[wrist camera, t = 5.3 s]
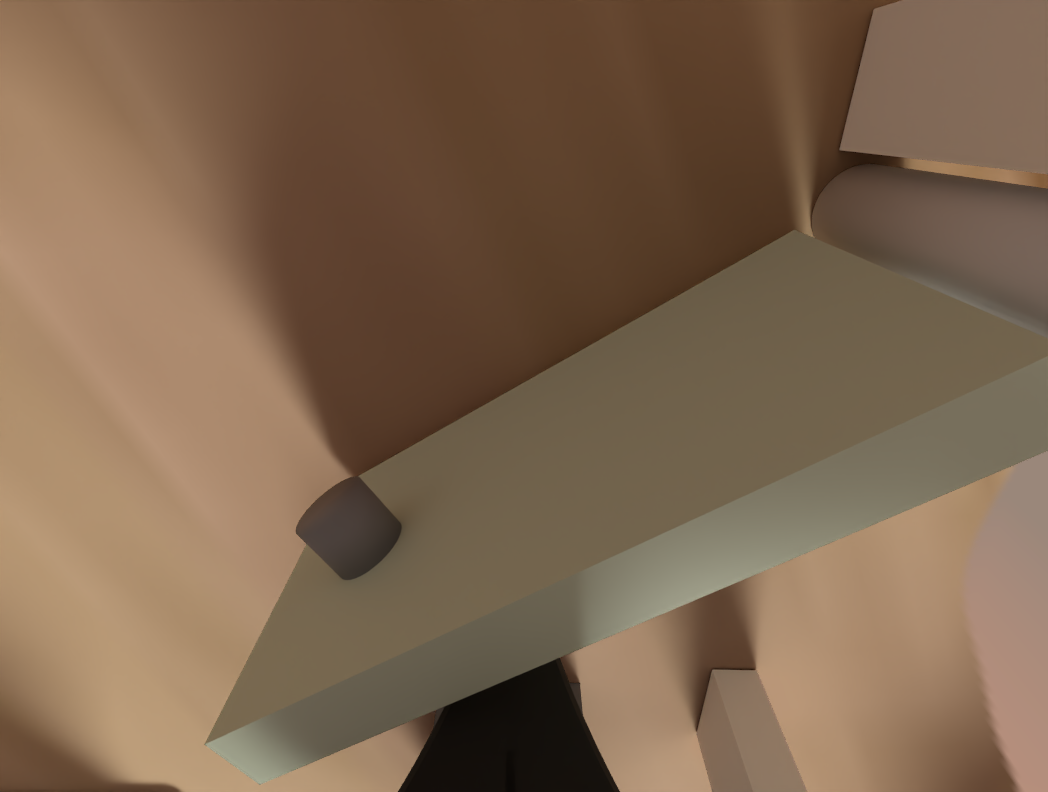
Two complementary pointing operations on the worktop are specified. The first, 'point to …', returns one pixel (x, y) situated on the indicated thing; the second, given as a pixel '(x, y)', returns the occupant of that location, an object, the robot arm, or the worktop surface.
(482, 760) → the robot arm
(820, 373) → the door
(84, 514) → the worktop surface
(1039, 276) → the wall frame
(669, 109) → the worktop surface
